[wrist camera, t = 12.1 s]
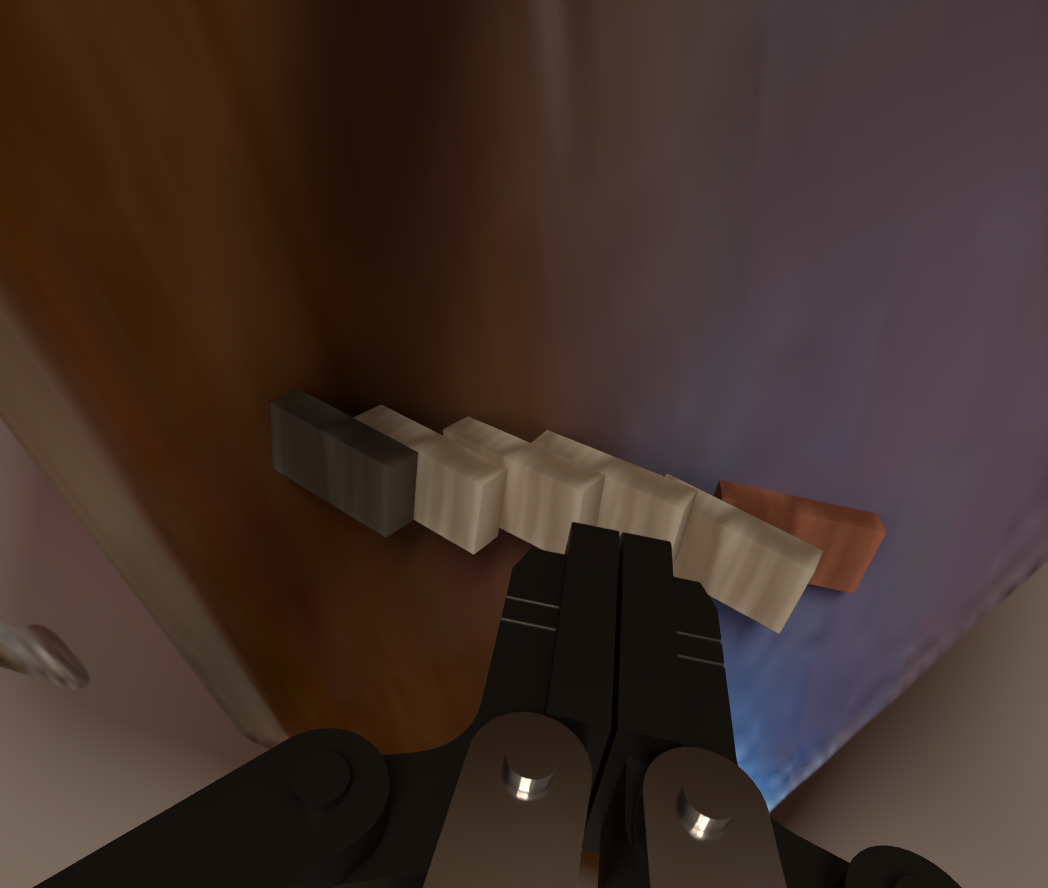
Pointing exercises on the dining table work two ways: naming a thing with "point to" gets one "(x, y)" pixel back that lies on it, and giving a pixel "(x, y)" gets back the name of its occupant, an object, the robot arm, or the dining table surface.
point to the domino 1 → (344, 461)
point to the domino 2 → (448, 481)
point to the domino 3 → (535, 485)
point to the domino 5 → (744, 560)
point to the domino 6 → (816, 530)
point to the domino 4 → (631, 493)
